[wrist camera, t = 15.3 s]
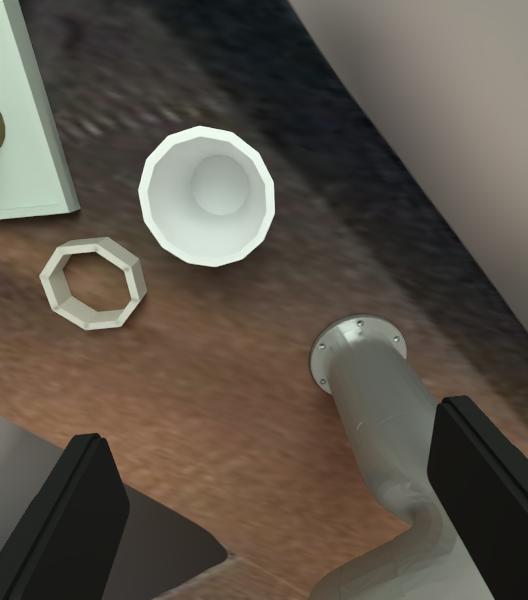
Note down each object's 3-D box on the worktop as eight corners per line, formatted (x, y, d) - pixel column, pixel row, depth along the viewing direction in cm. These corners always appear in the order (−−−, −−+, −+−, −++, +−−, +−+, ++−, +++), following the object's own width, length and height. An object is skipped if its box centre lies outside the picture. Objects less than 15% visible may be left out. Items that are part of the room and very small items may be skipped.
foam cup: (219, 247, 38) (207, 290, 26) (156, 182, 35) (110, 198, 23) (283, 188, 36) (302, 206, 24) (221, 114, 33) (208, 91, 21)
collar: (152, 312, 41) (145, 324, 38) (73, 320, 41) (60, 332, 38) (133, 234, 37) (124, 240, 34) (45, 242, 37) (29, 250, 34)
